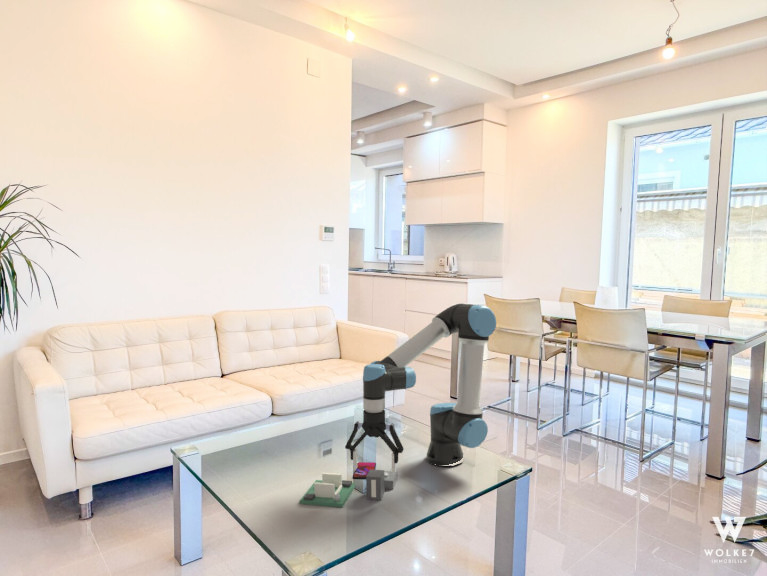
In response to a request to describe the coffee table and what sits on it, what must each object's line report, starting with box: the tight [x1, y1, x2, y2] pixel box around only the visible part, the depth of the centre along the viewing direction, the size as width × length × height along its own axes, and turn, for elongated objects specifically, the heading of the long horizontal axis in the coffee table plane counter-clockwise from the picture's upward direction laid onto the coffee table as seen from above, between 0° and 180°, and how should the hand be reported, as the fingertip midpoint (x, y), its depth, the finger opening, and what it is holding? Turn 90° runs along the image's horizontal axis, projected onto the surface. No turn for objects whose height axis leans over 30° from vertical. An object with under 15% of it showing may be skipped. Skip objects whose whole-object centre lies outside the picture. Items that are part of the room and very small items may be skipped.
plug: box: [365, 469, 386, 502], centre depth 167 cm, size 5×6×8 cm
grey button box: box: [384, 470, 398, 490], centre depth 177 cm, size 8×8×4 cm
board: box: [299, 472, 356, 508], centre depth 169 cm, size 15×16×6 cm
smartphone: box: [352, 461, 377, 480], centre depth 189 cm, size 8×1×15 cm
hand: (374, 470), depth 167 cm, fingers open, 13 cm apart
